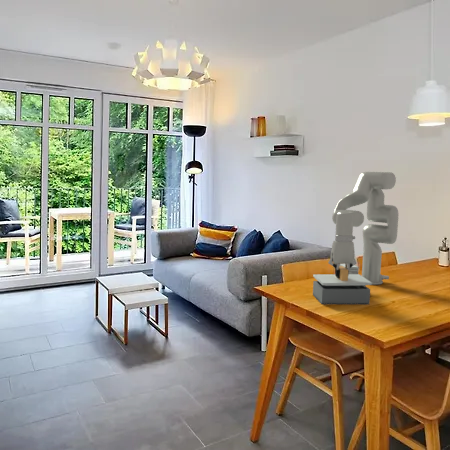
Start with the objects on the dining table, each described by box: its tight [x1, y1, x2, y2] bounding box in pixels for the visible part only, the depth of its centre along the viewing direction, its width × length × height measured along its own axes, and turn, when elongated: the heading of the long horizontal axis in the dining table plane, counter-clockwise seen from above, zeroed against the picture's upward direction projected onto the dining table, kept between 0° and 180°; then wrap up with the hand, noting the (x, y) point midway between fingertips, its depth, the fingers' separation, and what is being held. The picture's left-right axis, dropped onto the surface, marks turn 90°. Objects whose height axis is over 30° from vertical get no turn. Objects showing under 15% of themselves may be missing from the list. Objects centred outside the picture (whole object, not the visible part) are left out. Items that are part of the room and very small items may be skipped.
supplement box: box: [340, 263, 359, 274], centre depth 226 cm, size 7×7×13 cm
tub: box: [312, 280, 371, 305], centre depth 208 cm, size 22×15×7 cm
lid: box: [312, 266, 373, 287], centre depth 207 cm, size 23×16×7 cm
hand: (341, 277), depth 207 cm, fingers closed on lid, 3 cm apart
